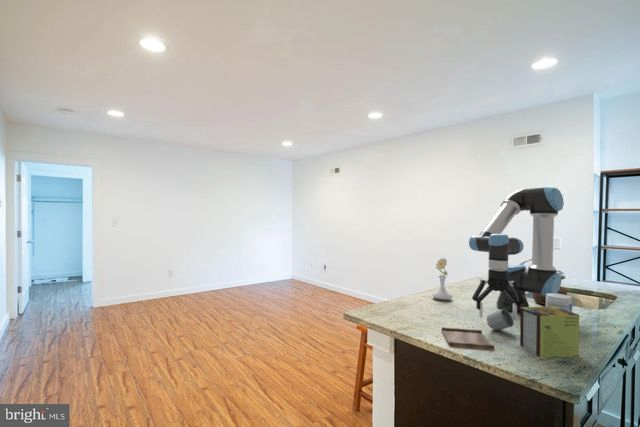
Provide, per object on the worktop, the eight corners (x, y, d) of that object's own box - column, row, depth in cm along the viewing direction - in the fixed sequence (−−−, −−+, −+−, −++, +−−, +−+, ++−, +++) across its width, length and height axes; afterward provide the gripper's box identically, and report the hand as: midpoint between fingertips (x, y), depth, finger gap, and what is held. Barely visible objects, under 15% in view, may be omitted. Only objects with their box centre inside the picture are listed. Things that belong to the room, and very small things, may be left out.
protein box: (579, 357, 114) (580, 314, 114) (539, 358, 113) (540, 315, 113) (555, 344, 125) (556, 305, 124) (519, 346, 123) (519, 306, 123)
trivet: (481, 334, 134) (481, 330, 134) (494, 351, 119) (494, 345, 119) (441, 331, 137) (441, 327, 137) (449, 347, 122) (449, 342, 122)
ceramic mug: (498, 332, 141) (494, 315, 145) (516, 328, 135) (510, 311, 140) (482, 327, 137) (478, 310, 141) (500, 322, 131) (495, 304, 136)
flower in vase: (430, 295, 196) (430, 255, 196) (449, 296, 194) (449, 256, 194) (435, 301, 183) (435, 258, 183) (455, 302, 181) (456, 259, 181)
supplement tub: (575, 333, 137) (576, 299, 137) (550, 330, 140) (550, 297, 139) (566, 325, 146) (566, 293, 146) (542, 322, 149) (542, 292, 149)
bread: (528, 302, 182) (528, 288, 182) (540, 291, 208) (540, 278, 208) (562, 308, 171) (562, 293, 171) (570, 295, 198) (570, 282, 197)
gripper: (526, 269, 139) (525, 317, 139) (465, 266, 143) (464, 313, 143) (534, 272, 131) (533, 323, 131) (469, 269, 136) (469, 318, 136)
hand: (497, 318), depth 137 cm, fingers open, 13 cm apart
